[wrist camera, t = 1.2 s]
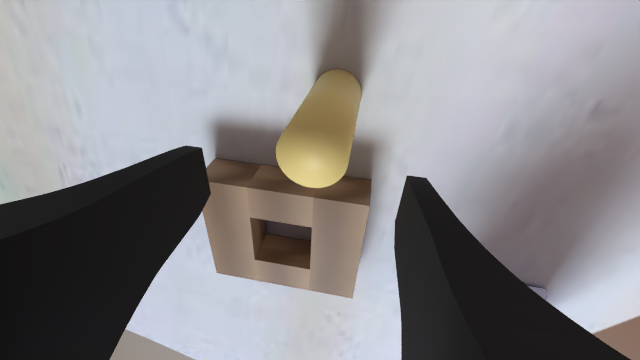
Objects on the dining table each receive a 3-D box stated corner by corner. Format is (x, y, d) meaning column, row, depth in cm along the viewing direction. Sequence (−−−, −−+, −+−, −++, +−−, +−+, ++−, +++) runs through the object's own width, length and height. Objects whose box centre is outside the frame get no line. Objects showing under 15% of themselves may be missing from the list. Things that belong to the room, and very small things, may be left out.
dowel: (364, 71, 18) (352, 128, 11) (358, 119, 19) (344, 192, 13) (314, 66, 18) (274, 118, 11) (312, 114, 20) (276, 182, 13)
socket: (371, 180, 22) (369, 205, 19) (355, 269, 27) (352, 298, 25) (215, 158, 23) (195, 180, 21) (231, 247, 29) (216, 272, 26)
